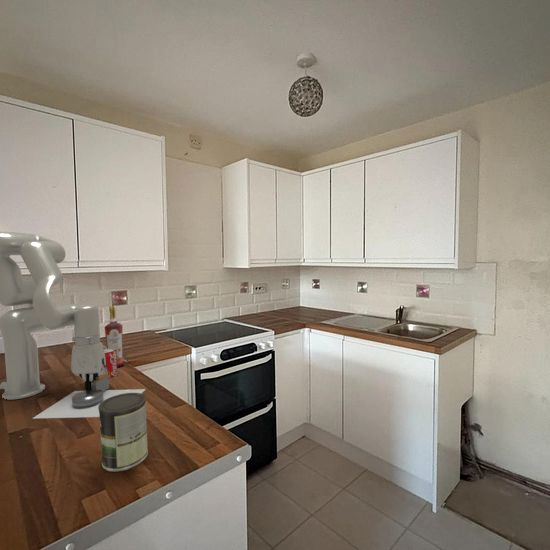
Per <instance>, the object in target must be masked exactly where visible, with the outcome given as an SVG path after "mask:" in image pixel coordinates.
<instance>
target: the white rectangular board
mask: <svg viewBox="0 0 550 550" xmlns="http://www.w3.org/2000/svg"><path fill="white" fill-rule="evenodd" d="M146 390H147V389H145V388H139V389H107V390H106V391H104V392H103V397H104V399H103V401H104V400H106V399H108V398H110V397H113V396H116V395H119V394H125V393H140V394H143V392H145V391H146ZM83 391H84V390H74V391H73V392H71V393H70V394H68V395H67V396H65V397H63V398H62V399H60V400H58V401H57V402H55V403H53V405H50V406H49V407H48V408H46V409H45V410H43V411H41V412H40V413H39V414H36V415H35V416H34V417H32V418H31V419H33V420H34V419H35V420H36V419H70V418H71V419H72V418H74V419H75V418H76V419H77V418H100V417H99V409H98V407H99V405H100V403H101V402H100V403H98V404H96V405H93V406H90V407H85V408H74V407H73V406H72V397H73V396H74V395H76V394H78V393H80V392H83ZM103 401H102V402H103Z"/></svg>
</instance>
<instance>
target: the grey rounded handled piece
mask: <svg viewBox="0 0 550 550" xmlns="http://www.w3.org/2000/svg"><path fill="white" fill-rule="evenodd" d="M91 387H92V390H87V391H86V390H82V391H83V392H80V393H78V394H76V395H74V396H73V397H72V406H73V407H74V408H85V407H90V406H93V405H96V404H98V403H100V402H102V401H103V399H104V397H103V392H104V391H106V390H109V389H110V378H109V374H104V375H102V376H101V377H99V378H98V377H97V378H96V380H94V381H93V382H92V383H91Z"/></svg>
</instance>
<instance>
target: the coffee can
mask: <svg viewBox="0 0 550 550" xmlns="http://www.w3.org/2000/svg"><path fill="white" fill-rule="evenodd" d="M146 397H147V396H146V395H145V394H143V393H142V394H140V393H125V394H119V395H116V396H113V397H110V398H108V399H106V400H104V401H103V402H101V403H100V405H99V407H98V409H99V417H98V418H99V429H100V430H99V431H100V444H101V446H100V447H101V466H102V469H103V470H105V471H108V472H115V473H116V472H124V471H127V470H129V469H130V470H131V469H132V468H135V467H136V466H138V465H139V464H141V463H142V462H143V461H145V460H146V459H147V457H148V454H149V450H148V431H147V428H148V427H147V411H146V409H147V408H146V401H147V398H146Z"/></svg>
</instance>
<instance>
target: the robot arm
mask: <svg viewBox="0 0 550 550" xmlns="http://www.w3.org/2000/svg"><path fill="white" fill-rule="evenodd" d="M11 256H21V258H22V260H23V262H24V265H25V266H26V268H27V270H28V272H29V274H30V275H31V277H32V278H31V279H25V278H24V277H23V274H22V270H21V267H20V265H18V263H17V262H16V261H15V260H13V259H12V257H11ZM65 258H66V250H65V248H64V246H62V244H61V243H59V242H57V241H55V240H52V239H50V238H46V237H44V236H40V235H38V234H34V233H25V232H15V231H14V232H13V231H0V304H1V306H4V307H16V306H23V305H25V306H26V305H28V307H22V308H17V309H12V310H7V311H6V312H4V313H3V314H2V315H0V333H1V337H2V340H3V347H4V361H5V372H6V373H5V374H6V381H2V382H0V390H4V392H3V393H2V394H1V396H2V399H3V398H4V399H3V400H6V399H7V400H9V401H10V400H12V401H13V400H20V399H25V398H30V397H32V396H35V395H38V394H40V393H42V392H43V391H44V390H45V389H46V385H45V384H44V383H41V380H40V366H39V354H38V353H39V351H38V343H37V341H36V339H35V338H34V336H33V335H32V334H31V333H33V332H38V331H42V330H45V329H49V330H57V329H61V328H65V327H69V326H74V336H73V337H72V338H71V339H72V340H71V341H73V342H74V344H73V346H72V351H71V355H70V356H71V360H70V365H71V367H70V370H71V373H73V375H74V376H77V377H79V378H81V379H82V381H83V382H84V389H85V391H87V390H92V387H91V383H92V382H93V381H94V380H96V379H98V376H100V375H103V374H105V367H106V361H105V353H104V349H105V348H104V345H103V343H102V342H101V334H100V316H99V315H100V314H99V306H97V305H95V304H81V303H69V304H63V305H57V306H55V305H54V303H53V301H52V299H51V295H50V291H51V289H52V287H54V286H56V285H57V284H59V283H61V281H62V280H63V278H64V274H63V273H62V271H61V269H60V267H59V265H58V264H61V263H63V261H65Z"/></svg>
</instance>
